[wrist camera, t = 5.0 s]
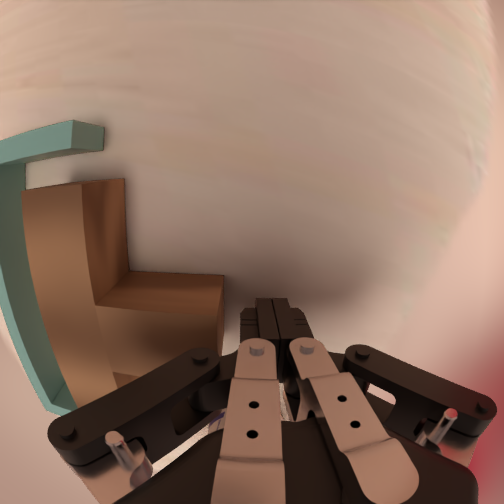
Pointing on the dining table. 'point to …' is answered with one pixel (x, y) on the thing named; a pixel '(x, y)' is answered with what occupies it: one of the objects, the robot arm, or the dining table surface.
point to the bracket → (16, 258)
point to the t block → (109, 291)
